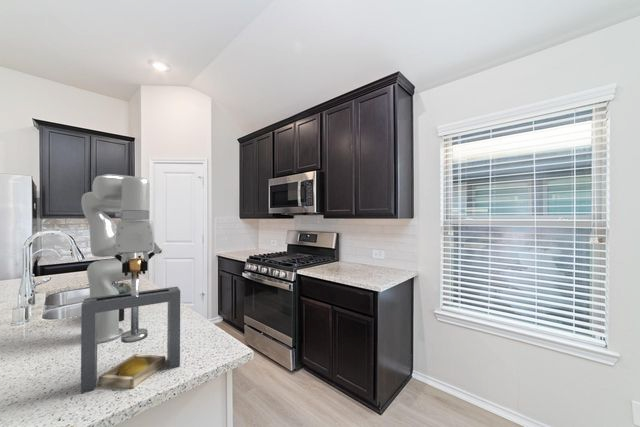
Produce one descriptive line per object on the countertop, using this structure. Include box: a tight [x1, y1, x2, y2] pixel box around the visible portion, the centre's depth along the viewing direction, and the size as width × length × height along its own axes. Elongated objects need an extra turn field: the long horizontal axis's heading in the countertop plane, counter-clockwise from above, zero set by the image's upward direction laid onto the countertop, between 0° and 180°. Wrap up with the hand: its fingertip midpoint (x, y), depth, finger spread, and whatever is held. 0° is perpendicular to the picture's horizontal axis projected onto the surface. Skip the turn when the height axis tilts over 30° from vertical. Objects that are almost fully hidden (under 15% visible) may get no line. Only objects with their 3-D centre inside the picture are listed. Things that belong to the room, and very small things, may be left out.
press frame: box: [80, 286, 181, 395], centre depth 87 cm, size 7×25×25 cm, turn 125°
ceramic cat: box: [111, 281, 127, 322], centre depth 135 cm, size 20×6×20 cm, turn 48°
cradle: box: [98, 353, 166, 389], centre depth 87 cm, size 11×13×2 cm
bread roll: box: [118, 358, 150, 377], centre depth 87 cm, size 8×9×4 cm
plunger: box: [120, 257, 149, 344], centre depth 87 cm, size 7×7×25 cm
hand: (135, 273), depth 87 cm, fingers closed on plunger, 4 cm apart
